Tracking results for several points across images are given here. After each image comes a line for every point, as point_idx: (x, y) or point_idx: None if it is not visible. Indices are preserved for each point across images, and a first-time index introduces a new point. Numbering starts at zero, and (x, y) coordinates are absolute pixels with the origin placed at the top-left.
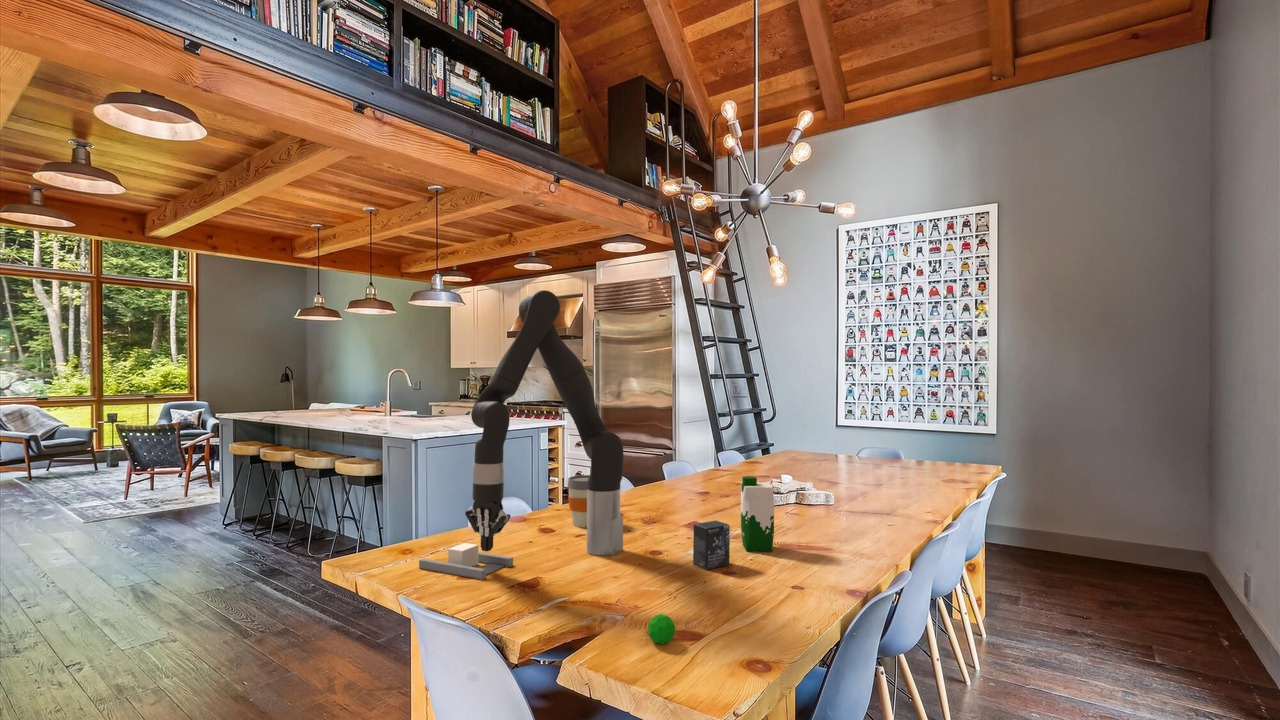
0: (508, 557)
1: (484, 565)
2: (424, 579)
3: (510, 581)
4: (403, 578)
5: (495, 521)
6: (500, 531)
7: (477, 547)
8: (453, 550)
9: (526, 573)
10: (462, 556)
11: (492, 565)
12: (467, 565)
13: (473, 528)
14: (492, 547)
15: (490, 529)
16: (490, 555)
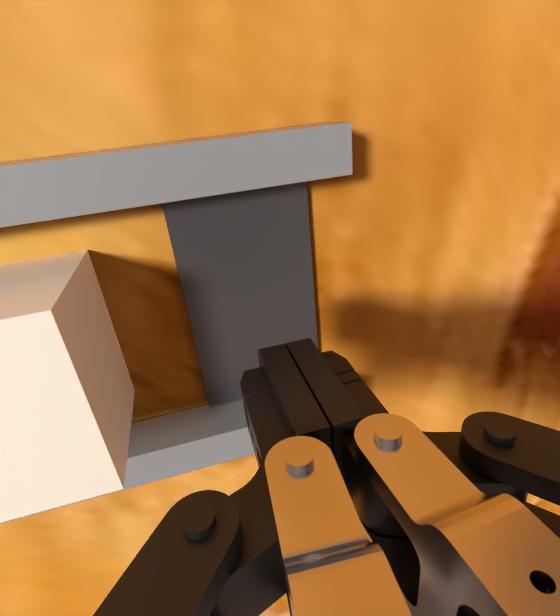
0: (320, 145)
1: (181, 266)
2: (104, 551)
3: (470, 332)
4: (4, 604)
5: (551, 571)
6: (518, 419)
7: (61, 312)
8: (22, 510)
9: (487, 200)
10: (127, 453)
11: (229, 233)
12: (120, 361)
13: None
14: (335, 355)
15: (383, 488)
16: (144, 191)
